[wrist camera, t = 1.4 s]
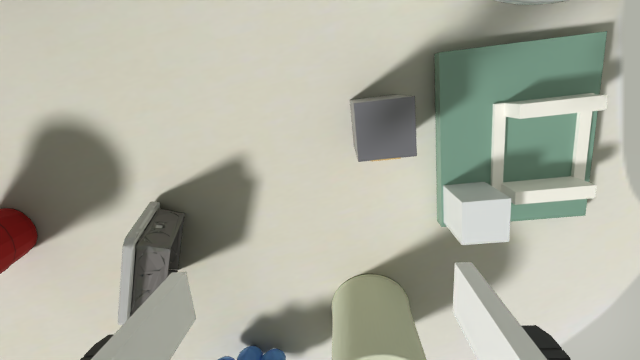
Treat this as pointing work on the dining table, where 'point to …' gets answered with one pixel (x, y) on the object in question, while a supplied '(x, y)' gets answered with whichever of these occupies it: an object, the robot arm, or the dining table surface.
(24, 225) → the plastic cup
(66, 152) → the dining table surface
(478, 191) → the plug
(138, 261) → the electrical switch
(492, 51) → the board
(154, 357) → the robot arm
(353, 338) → the can
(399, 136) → the plug
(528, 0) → the serving bowl
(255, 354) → the grapes
